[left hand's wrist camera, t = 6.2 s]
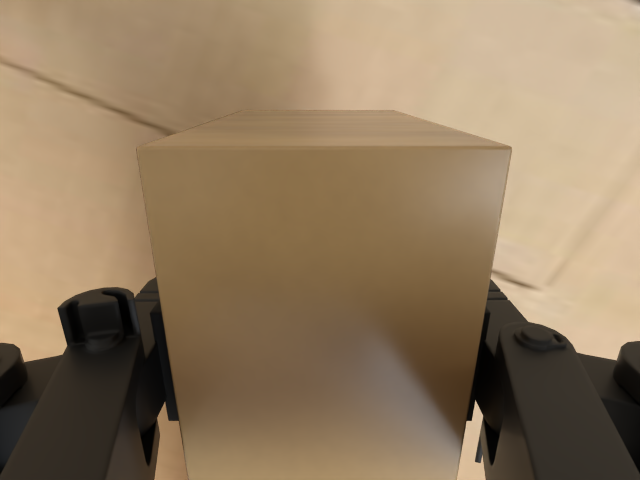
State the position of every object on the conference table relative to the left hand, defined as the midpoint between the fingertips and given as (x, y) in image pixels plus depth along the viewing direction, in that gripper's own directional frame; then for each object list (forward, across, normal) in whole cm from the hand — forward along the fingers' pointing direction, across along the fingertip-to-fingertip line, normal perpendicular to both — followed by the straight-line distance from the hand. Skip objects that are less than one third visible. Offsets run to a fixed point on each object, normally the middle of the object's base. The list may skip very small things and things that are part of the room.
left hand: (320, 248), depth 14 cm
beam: (0, 0, -23) cm, 23 cm away
